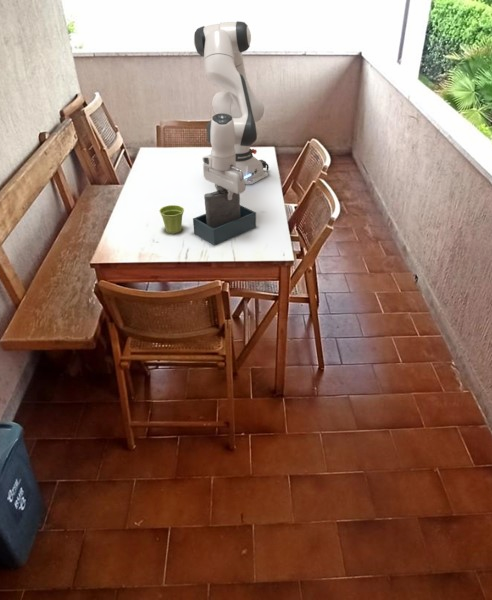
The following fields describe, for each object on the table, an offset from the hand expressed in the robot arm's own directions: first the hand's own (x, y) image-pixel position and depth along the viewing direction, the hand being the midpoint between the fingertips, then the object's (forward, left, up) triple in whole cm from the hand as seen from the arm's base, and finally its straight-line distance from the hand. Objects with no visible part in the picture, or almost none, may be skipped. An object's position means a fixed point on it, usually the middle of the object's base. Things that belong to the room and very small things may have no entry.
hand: (224, 197), depth 185 cm
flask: (0, 0, -14) cm, 14 cm away
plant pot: (+15, -14, -14) cm, 25 cm away
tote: (0, 0, -14) cm, 14 cm away
